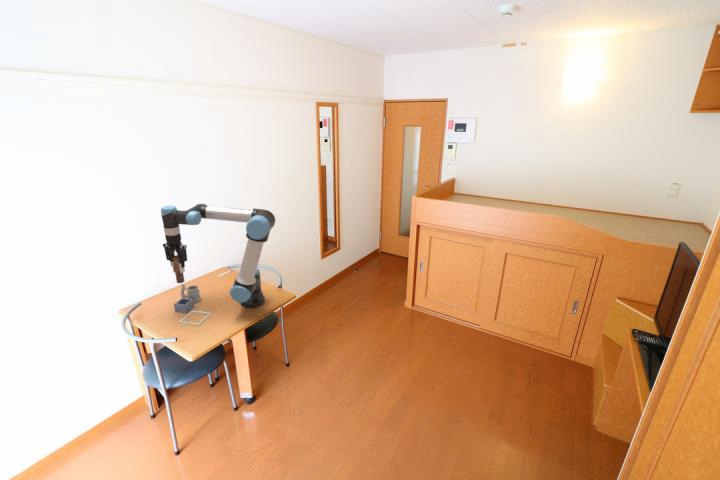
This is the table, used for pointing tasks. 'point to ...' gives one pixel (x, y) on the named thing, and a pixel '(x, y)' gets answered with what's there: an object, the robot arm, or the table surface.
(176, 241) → the robot arm
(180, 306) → the grey open box
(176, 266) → the dowel
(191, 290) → the mug
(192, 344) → the table surface
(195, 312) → the tray
